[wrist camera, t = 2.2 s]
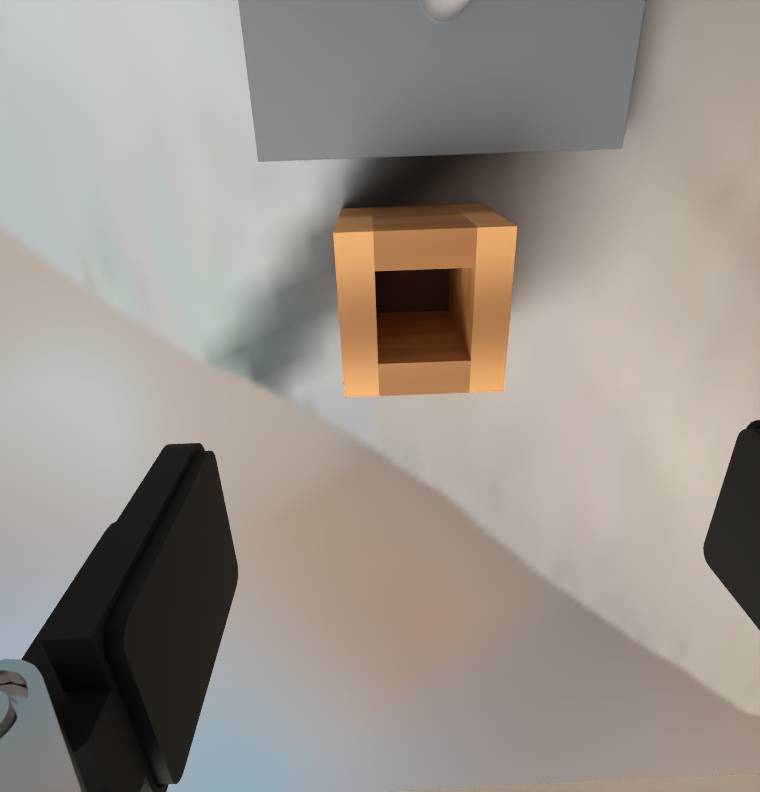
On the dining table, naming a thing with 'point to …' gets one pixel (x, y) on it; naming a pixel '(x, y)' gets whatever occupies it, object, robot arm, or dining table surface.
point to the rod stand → (438, 76)
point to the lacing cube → (430, 330)
